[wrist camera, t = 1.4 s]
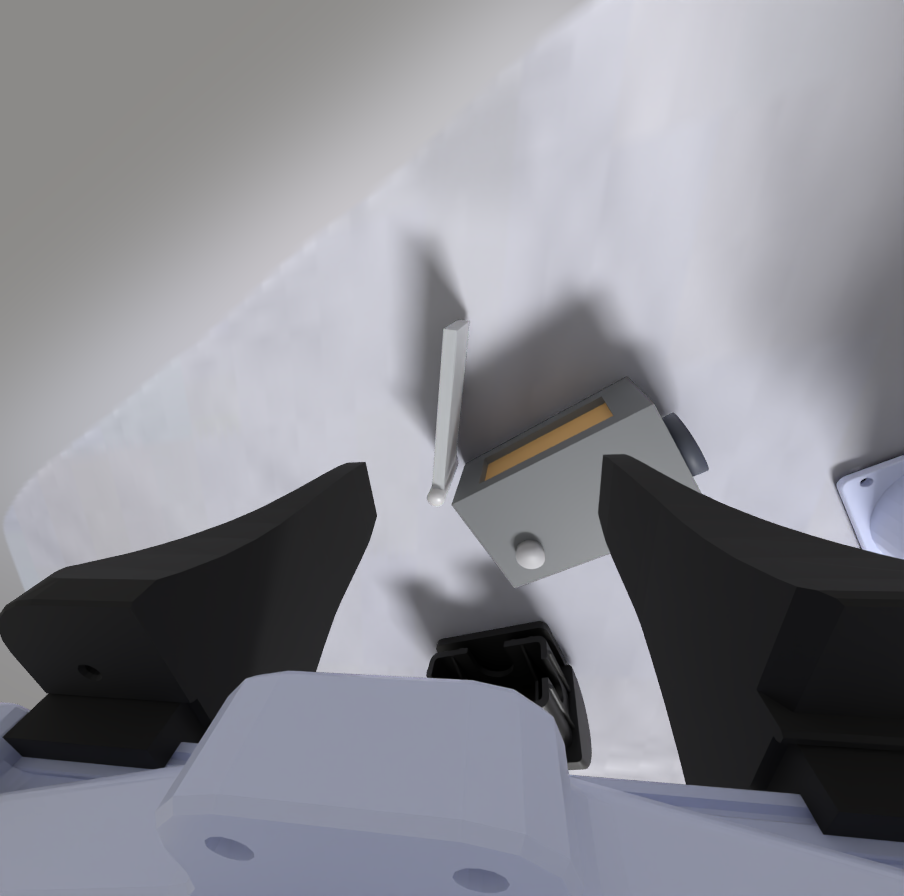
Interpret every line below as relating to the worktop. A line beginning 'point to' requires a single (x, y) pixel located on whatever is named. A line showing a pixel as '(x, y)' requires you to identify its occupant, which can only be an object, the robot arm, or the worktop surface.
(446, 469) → the side cover
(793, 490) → the worktop surface
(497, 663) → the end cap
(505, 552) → the camera case
